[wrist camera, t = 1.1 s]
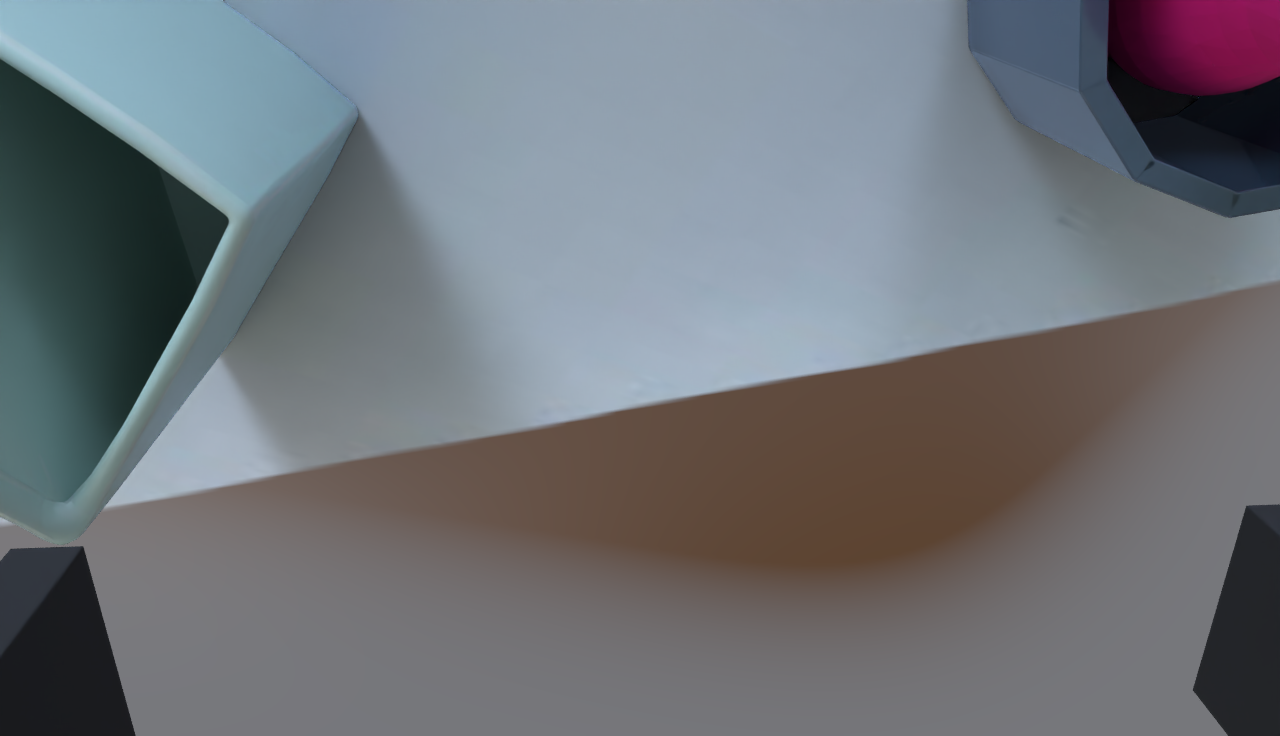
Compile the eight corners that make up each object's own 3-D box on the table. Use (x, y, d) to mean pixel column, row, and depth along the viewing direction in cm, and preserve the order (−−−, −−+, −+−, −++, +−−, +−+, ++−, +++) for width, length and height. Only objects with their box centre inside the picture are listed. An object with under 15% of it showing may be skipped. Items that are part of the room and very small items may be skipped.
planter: (411, 318, 40) (283, 659, 22) (211, 349, 40) (-77, 713, 22) (294, -145, 33) (-28, -190, 15) (53, -107, 33) (-550, -110, 15)
